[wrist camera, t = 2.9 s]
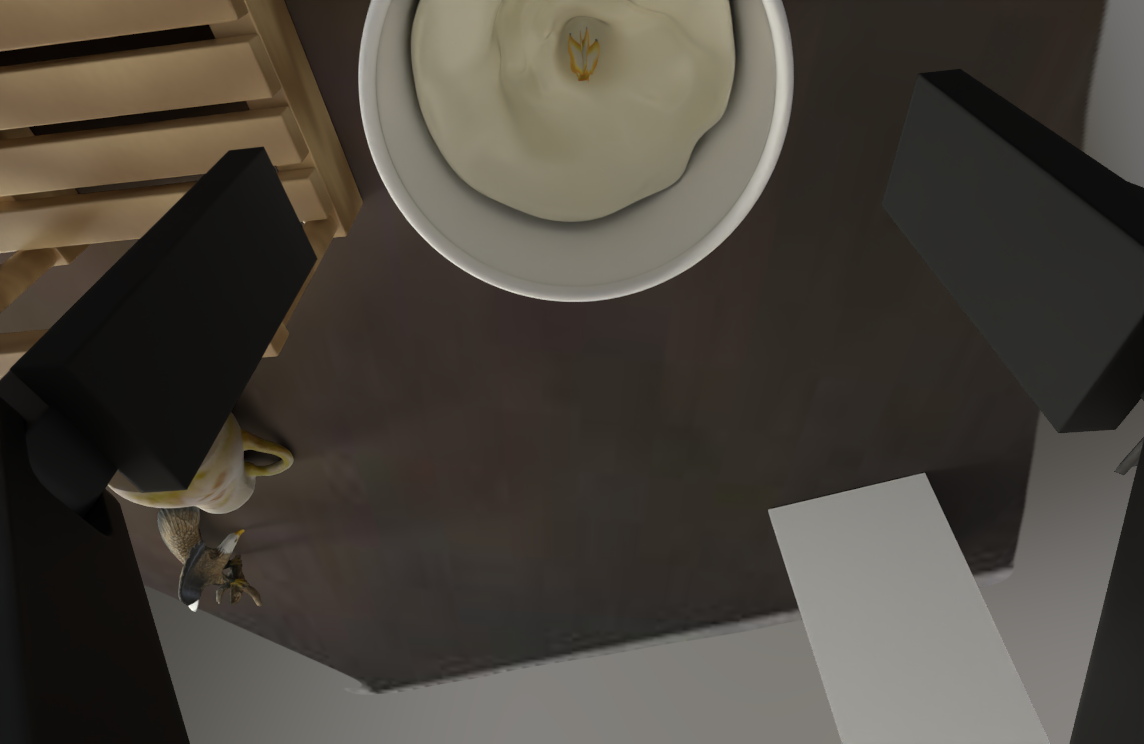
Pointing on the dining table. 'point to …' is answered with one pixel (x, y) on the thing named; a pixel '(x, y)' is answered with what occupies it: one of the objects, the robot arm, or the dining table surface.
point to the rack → (152, 130)
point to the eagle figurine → (202, 558)
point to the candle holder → (575, 132)
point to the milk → (900, 621)
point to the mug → (215, 474)
